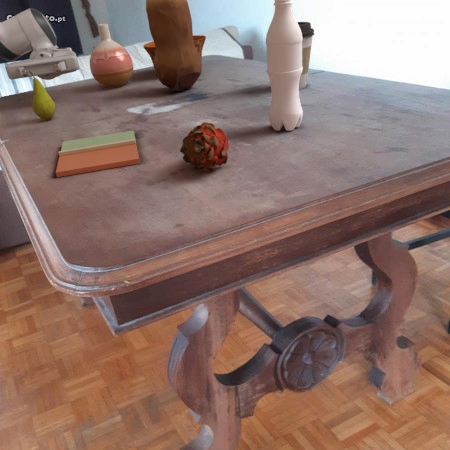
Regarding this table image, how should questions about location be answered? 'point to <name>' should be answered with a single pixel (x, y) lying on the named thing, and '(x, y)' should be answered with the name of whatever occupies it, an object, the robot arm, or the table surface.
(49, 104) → the fruit
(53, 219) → the table surface
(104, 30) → the vase
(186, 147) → the dragon fruit
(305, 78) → the coffee cup
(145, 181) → the table surface
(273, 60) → the water bottle
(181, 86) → the butternut squash
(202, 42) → the bowl
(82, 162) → the sorting board
